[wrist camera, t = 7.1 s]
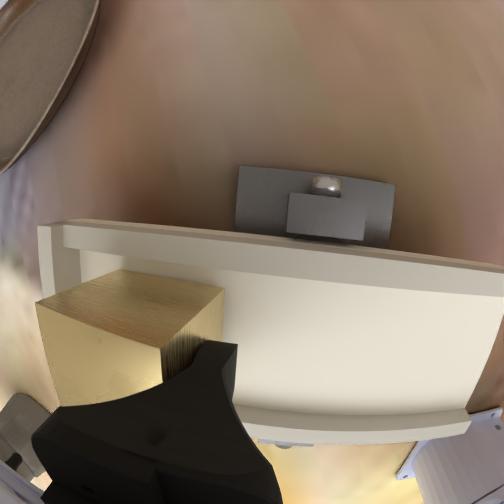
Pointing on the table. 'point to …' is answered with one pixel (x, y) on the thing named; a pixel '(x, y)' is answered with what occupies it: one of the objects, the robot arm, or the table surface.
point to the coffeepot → (21, 435)
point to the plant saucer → (38, 65)
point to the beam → (315, 324)
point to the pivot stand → (313, 212)
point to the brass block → (125, 333)
